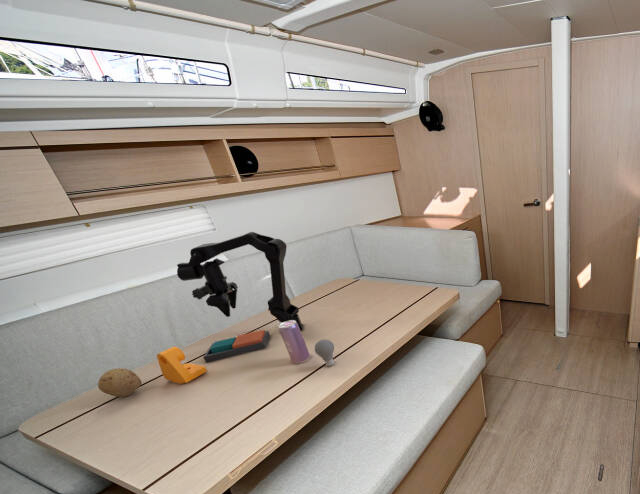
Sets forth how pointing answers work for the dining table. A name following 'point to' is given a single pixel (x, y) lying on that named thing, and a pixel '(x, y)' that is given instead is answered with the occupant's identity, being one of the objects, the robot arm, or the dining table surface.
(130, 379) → the potato
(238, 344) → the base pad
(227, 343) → the teal pad
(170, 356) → the bracket
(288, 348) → the beverage can
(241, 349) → the pad tray
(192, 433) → the dining table surface
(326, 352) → the light bulb
